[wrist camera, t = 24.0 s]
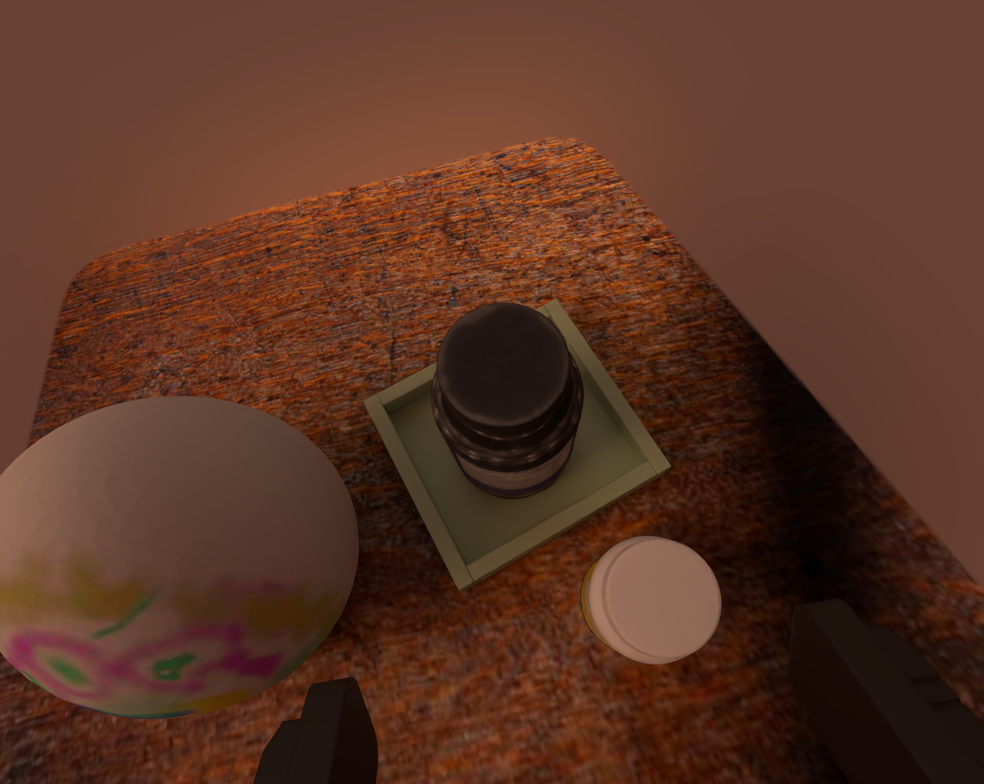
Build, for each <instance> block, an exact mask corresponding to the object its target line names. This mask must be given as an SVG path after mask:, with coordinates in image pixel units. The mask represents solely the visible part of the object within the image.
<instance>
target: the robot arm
mask: <svg viewBox="0 0 984 784" xmlns="http://www.w3.org/2000/svg"><path fill="white" fill-rule="evenodd" d="M789 667H790V674H791V678H792V682H793V685H794V688H795V690H796V693H797V695H798V697H799V699H800V701H801V703H802V704H803V706H804V708H805V709H806V711H807V713H808V714H809V716H810V718H811V719H812V721H813V723H814V724H815V726H816V728H817V729H818V731H819V733H820V734H821V736H822V738H823V739H824V741H825V743H826V744H827V746H828V748H829V749H830V751H831V753H832V754H833V756H834V758H835V759H836V761H837V763H838V764H839V766H840V768H841V769H842V771H843V773H844V774H845V776H846V778H847V779H848V781H849V783H850V784H984V725H983V724H982V723H981V722H980V721H979V720H978V719H977V717H976V716H975V715H974V714H973V713H972V712H971V711H970V709H969V708H968V707H967V706H966V705H963V704H962V703H961V702H960V698H959V697H958V696H957V695H956V693H955V692H954V691H953V690H952V689H951V688H950V687H949V685H948V684H947V683H946V682H945V681H942V680H941V679H940V677H939V674H938V673H937V672H936V671H935V670H934V668H933V667H932V666H931V665H930V664H929V663H928V662H927V660H926V659H925V658H924V657H923V656H922V655H921V654H920V652H919V651H918V650H917V649H916V648H915V647H914V646H913V645H911V644H910V643H908V642H907V641H905V640H904V639H902V638H901V637H899V636H898V635H896V634H895V633H893V632H892V631H890V630H889V629H887V628H886V627H884V626H883V625H877V626H871V627H866V626H865V624H864V623H863V622H862V621H861V619H860V618H859V617H858V616H857V615H856V613H855V612H854V611H853V610H852V608H851V607H850V606H849V605H848V604H847V603H846V602H845V601H843V600H842V599H831V600H825V601H819V602H813V603H807V604H801V605H797V606H795V608H794V610H793V619H792V632H791V646H790V659H789ZM377 768H378V748H377V739H376V734H375V730H374V727H373V724H372V721H371V719H370V716H369V713H368V710H367V708H366V705H365V702H364V699H363V697H362V694H361V691H360V688H359V686H358V683H357V681H356V679H355V678H354V677H350V678H344V679H338V680H331V681H325V682H319V683H314V684H312V685H311V686H310V687H309V690H308V692H307V695H306V699H305V703H304V707H303V711H302V715H301V719H296V720H290V721H283V722H282V724H281V725H280V727H279V728H278V730H277V731H276V733H275V734H274V736H273V737H272V739H271V740H270V742H269V743H268V745H267V746H266V748H265V749H264V751H263V753H262V757H261V760H260V763H259V767H258V770H257V773H256V777H255V780H254V783H253V784H376V777H377Z"/></svg>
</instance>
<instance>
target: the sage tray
mask: <svg viewBox="0 0 984 784" xmlns="http://www.w3.org/2000/svg"><path fill="white" fill-rule="evenodd" d="M536 311H538V312H540V313H542V314H543V315H544V316H546V317H547V318H548V319H550V320H551V321H552V322H553V323H554V324H555V325H556V326H557V328H558V329H559V331H560V332H561V334H562V335H563V337H564V339H565V342H566V344H567V347H568V351H569V352H570V353H571V354H572V356H573V358H574V359H575V361H576V364H577V366H578V368H579V370H580V373H581V377H582V381H583V387H584V403H583V409H582V413H581V419H580V422H579V425H578V430H577V433H576V437H575V441H574V445H573V450H572V452H571V455H570V458H569V461H568V463H567V464H566V466H565V468H564V471H563V472H562V474H561V475H560V476H559V478H558V479H557V480H556V481H555V482H554V483H553V484H552V485H551V486H550V487H549V488H547V489H545V490H543V491H541V492H539V493H537V494H535V495H532V496H530V497H526V498H520V499H505V498H500V497H496V496H493V495H490V494H488V493H485V492H483V491H482V490H480V489H479V488H477V487H476V486H475V485H473V484H472V483H471V482H470V481H469V480H468V479H467V478H466V477H465V475H464V474H463V472H462V470H461V469H460V467H459V465H458V464H457V462H456V460H455V458H454V456H453V455H452V453H451V451H450V449H449V447H448V445H447V443H446V441H445V439H444V438H443V436H442V434H441V433H440V431H439V428H438V427H437V425H436V422H435V419H434V416H433V413H432V406H431V384H432V382H433V378H434V373H435V371H436V365H437V362H436V363H434V364H432V365H430V366H428V367H427V368H425V369H423V370H421V371H419V372H417V373H415V374H413V375H411V376H410V377H408V378H406V379H404V380H402V381H400V382H398V383H396V384H395V385H393V386H391V387H389V388H387V389H385V390H383V391H381V392H380V393H378V394H375V395H373V396H371V397H369V398H368V399H366V400H364V401H363V403H364V405H365V407H366V409H367V411H368V413H369V415H370V417H371V419H372V421H373V423H374V425H375V427H376V429H377V431H378V433H379V435H380V436H381V438H382V440H383V442H384V444H385V446H386V448H387V450H388V452H389V454H390V456H391V458H392V460H393V462H394V464H395V466H396V468H397V470H398V472H399V474H400V476H401V478H402V480H403V482H404V484H405V486H406V488H407V490H408V492H409V494H410V496H411V498H412V500H413V502H414V504H415V506H416V508H417V510H418V512H419V513H420V515H421V517H422V519H423V521H424V523H425V525H426V527H427V529H428V531H429V533H430V535H431V537H432V539H433V541H434V543H435V545H436V547H437V549H438V551H439V553H440V555H441V557H442V559H443V561H444V563H445V565H446V567H447V569H448V571H449V573H450V575H451V577H452V579H453V581H454V583H455V585H456V587H457V589H458V590H460V591H466V590H467V589H469V588H471V587H473V586H474V585H476V584H478V583H479V582H481V581H483V580H485V579H486V578H488V577H490V576H491V575H493V574H495V573H496V572H498V571H500V570H502V569H503V568H505V567H507V566H508V565H510V564H512V563H514V562H515V561H517V560H519V559H520V558H522V557H524V556H526V555H527V554H529V553H531V552H532V551H534V550H536V549H538V548H539V547H541V546H543V545H544V544H546V543H548V542H550V541H551V540H553V539H555V538H556V537H558V536H560V535H562V534H563V533H565V532H567V531H568V530H570V529H572V528H574V527H575V526H577V525H579V524H580V523H582V522H584V521H585V520H587V519H589V518H591V517H592V516H594V515H596V514H597V513H599V512H601V511H603V510H604V509H606V508H608V507H609V506H611V505H613V504H615V503H616V502H618V501H620V500H621V499H623V498H625V497H627V496H628V495H630V494H632V493H633V492H635V491H637V490H639V489H640V488H642V487H644V486H645V485H647V484H649V483H651V482H652V481H654V480H656V479H657V478H659V477H661V476H662V475H663V474H664V473H665V472H666V471H667V470H668V469H669V468H670V467H671V465H670V463H669V462H668V460H667V459H666V458H665V456H664V455H663V453H662V452H661V450H660V449H659V447H658V446H657V444H656V443H655V441H654V440H653V438H652V437H651V436H650V434H649V433H648V431H647V430H646V428H645V427H644V425H643V424H642V422H641V421H640V419H639V418H638V417H637V415H636V414H635V412H634V411H633V409H632V408H631V406H630V405H629V403H628V402H627V400H626V399H625V397H624V396H623V395H622V393H621V392H620V390H619V389H618V387H617V386H616V384H615V383H614V381H613V380H612V378H611V377H610V376H609V374H608V373H607V371H606V370H605V368H604V367H603V365H602V364H601V362H600V361H599V359H598V358H597V356H596V355H595V354H594V352H593V351H592V349H591V348H590V346H589V345H588V343H587V342H586V340H585V339H584V337H583V336H582V335H581V333H580V332H579V330H578V329H577V327H576V326H575V324H574V323H573V321H572V320H571V318H570V317H569V315H568V314H567V313H566V311H565V310H564V308H563V307H562V305H561V304H560V302H559V301H558V299H557V298H556V299H554V300H552V301H550V302H548V303H546V304H545V305H544V306H541V307H539V308H537V309H536Z"/></svg>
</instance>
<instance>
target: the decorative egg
mask: <svg viewBox="0 0 984 784" xmlns="http://www.w3.org/2000/svg"><path fill="white" fill-rule="evenodd" d="M358 556H359V534H358V525H357V519H356V514H355V510H354V506H353V503H352V500H351V497H350V495H349V492H348V490H347V488H346V486H345V484H344V482H343V480H342V478H341V477H340V475H339V473H338V472H337V470H336V468H335V467H334V465H333V464H332V463H331V462H330V460H329V459H328V458H327V457H326V455H325V454H324V453H323V452H322V451H321V450H320V449H319V448H318V447H317V446H316V445H315V444H314V443H313V442H311V441H310V440H309V439H308V438H307V437H306V436H305V435H304V434H302V433H301V432H299V431H298V430H297V429H295V428H294V427H292V426H290V425H289V424H287V423H285V422H284V421H282V420H280V419H278V418H276V417H274V416H272V415H270V414H268V413H265V412H263V411H260V410H257V409H254V408H251V407H249V406H245V405H242V404H238V403H234V402H230V401H226V400H220V399H213V398H207V397H192V396H167V397H152V398H146V399H139V400H133V401H128V402H124V403H120V404H116V405H112V406H108V407H105V408H102V409H100V410H97V411H94V412H91V413H89V414H86V415H84V416H81V417H79V418H77V419H75V420H73V421H71V422H69V423H67V424H65V425H63V426H61V427H59V428H57V429H55V430H54V431H52V432H51V433H49V434H48V435H46V436H44V437H43V438H41V439H40V440H39V441H37V442H36V443H35V444H33V445H32V446H31V447H29V448H28V449H27V450H26V451H25V452H24V453H22V454H21V455H20V456H19V457H18V458H17V459H16V460H15V461H14V462H13V463H12V464H11V465H10V466H9V467H8V468H7V470H5V471H4V472H3V474H1V476H0V652H1V653H2V654H3V656H4V657H5V658H6V659H7V660H8V661H9V662H10V663H11V664H12V665H13V666H14V667H15V668H16V669H17V670H18V671H20V672H21V673H22V674H23V675H24V676H25V677H26V678H27V679H29V680H31V681H32V682H34V683H35V684H37V685H39V686H40V687H42V688H43V689H45V690H47V691H48V692H50V693H51V694H53V695H55V696H57V697H59V698H61V699H64V700H66V701H68V702H71V703H73V704H76V705H78V706H80V707H83V708H86V709H90V710H94V711H98V712H102V713H106V714H110V715H114V716H121V717H130V718H140V719H172V718H182V717H189V716H194V715H199V714H204V713H210V712H214V711H217V710H220V709H223V708H227V707H230V706H232V705H235V704H237V703H240V702H242V701H245V700H247V699H250V698H252V697H254V696H256V695H257V694H259V693H261V692H263V691H265V690H267V689H269V688H270V687H272V686H274V685H275V684H277V683H278V682H280V681H281V680H283V679H284V678H285V677H287V676H288V675H289V674H291V673H292V672H293V671H295V670H296V669H297V668H298V667H300V666H301V665H302V664H303V663H304V662H305V661H306V660H307V659H308V658H309V657H310V656H311V655H312V654H313V653H314V652H315V651H316V649H317V648H318V647H319V646H320V645H321V643H322V642H323V641H324V640H325V639H326V637H327V636H328V635H329V633H330V632H331V630H332V629H333V627H334V625H335V624H336V622H337V621H338V619H339V618H340V616H341V613H342V611H343V609H344V607H345V605H346V603H347V600H348V598H349V596H350V593H351V590H352V587H353V583H354V579H355V575H356V570H357V564H358Z"/></svg>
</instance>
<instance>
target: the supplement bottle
mask: <svg viewBox="0 0 984 784" xmlns="http://www.w3.org/2000/svg"><path fill="white" fill-rule="evenodd" d="M580 604H581V610H582V614H583V616H584V619H585V621H586V623H587V625H588V627H589V629H590V630H591V631H592V633H593V634H594V635H595V636H596V637H597V639H599V640H600V641H601V642H602V643H603V644H605V645H606V646H608V647H609V648H611V649H613V650H615V651H617V652H618V653H620V654H622V655H624V656H626V657H627V658H630V659H632V660H635V661H637V662H641V663H646V664H666V663H671V662H674V661H677V660H680V659H682V658H685V657H686V656H688V655H690V654H692V653H693V652H695V651H697V650H698V649H700V648H701V647H702V646H703V645H705V644H706V643H707V642H708V640H709V639H710V638H711V636H712V635H713V633H714V632H715V630H716V628H717V625H718V622H719V619H720V614H721V594H720V589H719V585H718V582H717V580H716V577H715V575H714V573H713V572H712V570H711V568H710V567H709V565H708V564H707V563H706V562H705V560H704V559H703V558H702V557H701V556H700V555H699V554H697V553H696V552H695V551H693V550H692V549H691V548H689V547H687V546H685V545H683V544H681V543H679V542H676V541H672V540H668V539H665V538H661V537H656V536H638V537H633V538H629V539H626V540H624V541H622V542H620V543H618V544H616V545H615V546H613V547H612V548H610V549H609V550H608V551H606V552H605V553H604V554H603V555H602V556H601V557H599V558H598V559H597V560H596V561H595V562H594V563H593V564H592V565H591V566H590V568H589V569H588V571H587V572H586V574H585V577H584V579H583V582H582V586H581V591H580Z"/></svg>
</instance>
